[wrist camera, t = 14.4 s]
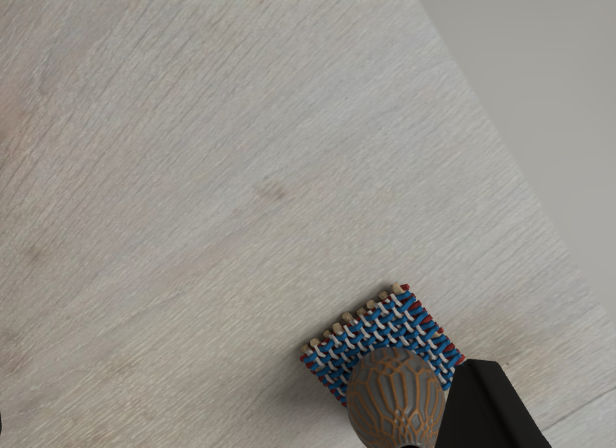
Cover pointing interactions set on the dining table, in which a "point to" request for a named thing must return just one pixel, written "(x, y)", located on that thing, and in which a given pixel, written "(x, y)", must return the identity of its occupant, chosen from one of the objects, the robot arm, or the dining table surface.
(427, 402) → the vase
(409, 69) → the dining table surface
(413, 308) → the woven mat
